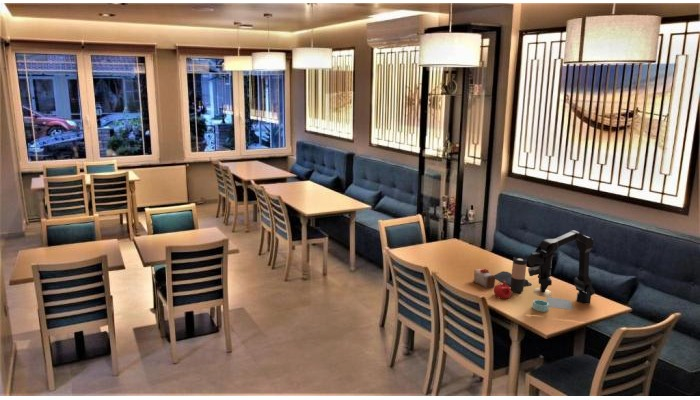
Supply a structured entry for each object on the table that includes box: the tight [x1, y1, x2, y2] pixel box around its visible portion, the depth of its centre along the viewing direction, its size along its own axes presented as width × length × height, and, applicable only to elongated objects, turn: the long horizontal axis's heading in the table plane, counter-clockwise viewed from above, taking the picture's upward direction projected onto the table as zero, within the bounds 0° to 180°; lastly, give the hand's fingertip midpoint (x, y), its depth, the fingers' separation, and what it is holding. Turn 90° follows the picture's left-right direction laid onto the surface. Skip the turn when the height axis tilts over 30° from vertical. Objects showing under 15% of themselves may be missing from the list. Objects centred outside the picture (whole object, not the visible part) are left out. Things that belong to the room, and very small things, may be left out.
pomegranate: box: [493, 281, 513, 300], centre depth 293 cm, size 10×10×9 cm
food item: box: [473, 268, 496, 290], centre depth 310 cm, size 14×8×10 cm, turn 26°
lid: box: [532, 285, 552, 298], centre depth 276 cm, size 9×9×4 cm
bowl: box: [531, 299, 550, 313], centre depth 278 cm, size 8×8×4 cm
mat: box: [545, 296, 574, 311], centre depth 286 cm, size 13×14×1 cm
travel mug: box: [510, 256, 528, 294], centre depth 301 cm, size 8×8×20 cm
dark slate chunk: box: [494, 270, 532, 288], centre depth 317 cm, size 15×22×5 cm
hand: (542, 291), depth 276 cm, fingers closed on lid, 3 cm apart
